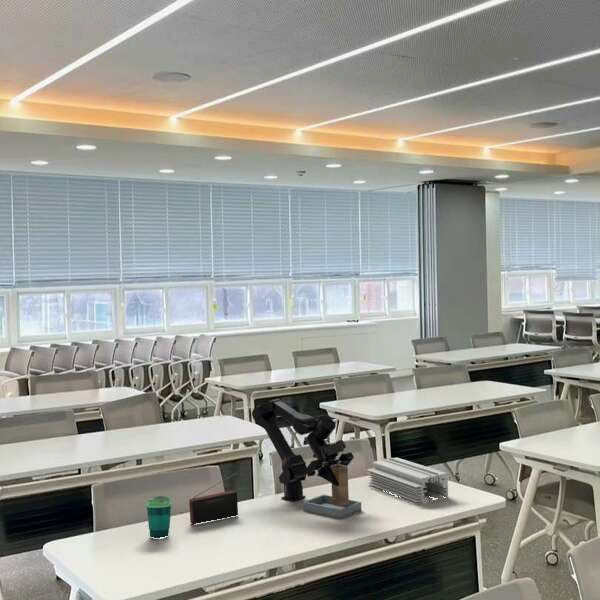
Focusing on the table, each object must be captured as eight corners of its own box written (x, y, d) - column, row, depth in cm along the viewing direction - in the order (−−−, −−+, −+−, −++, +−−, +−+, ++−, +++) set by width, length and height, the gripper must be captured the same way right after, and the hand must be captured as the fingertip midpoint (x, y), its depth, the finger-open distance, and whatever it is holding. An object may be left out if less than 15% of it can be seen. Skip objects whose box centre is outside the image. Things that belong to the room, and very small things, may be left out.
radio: (194, 526, 263) (191, 482, 262) (190, 524, 265) (188, 480, 265) (243, 515, 272) (241, 472, 272) (240, 513, 275) (237, 471, 274)
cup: (142, 539, 252) (140, 502, 252) (156, 531, 260) (154, 495, 259) (164, 541, 249) (162, 503, 249) (177, 532, 257) (176, 496, 256)
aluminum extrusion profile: (416, 505, 275) (415, 477, 275) (367, 486, 302) (366, 460, 302) (448, 498, 282) (447, 470, 282) (398, 480, 309) (397, 455, 308)
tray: (303, 510, 274) (303, 502, 274) (323, 502, 283) (323, 494, 282) (341, 519, 263) (341, 510, 263) (361, 510, 271) (361, 502, 271)
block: (332, 503, 270) (330, 466, 270) (340, 501, 273) (339, 464, 272) (340, 506, 267) (338, 468, 267) (348, 503, 270) (347, 466, 269)
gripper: (309, 438, 266) (333, 476, 258) (349, 429, 278) (373, 465, 270) (295, 457, 273) (318, 495, 265) (335, 447, 285) (357, 483, 277)
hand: (342, 484), depth 269 cm, fingers closed on block, 4 cm apart
